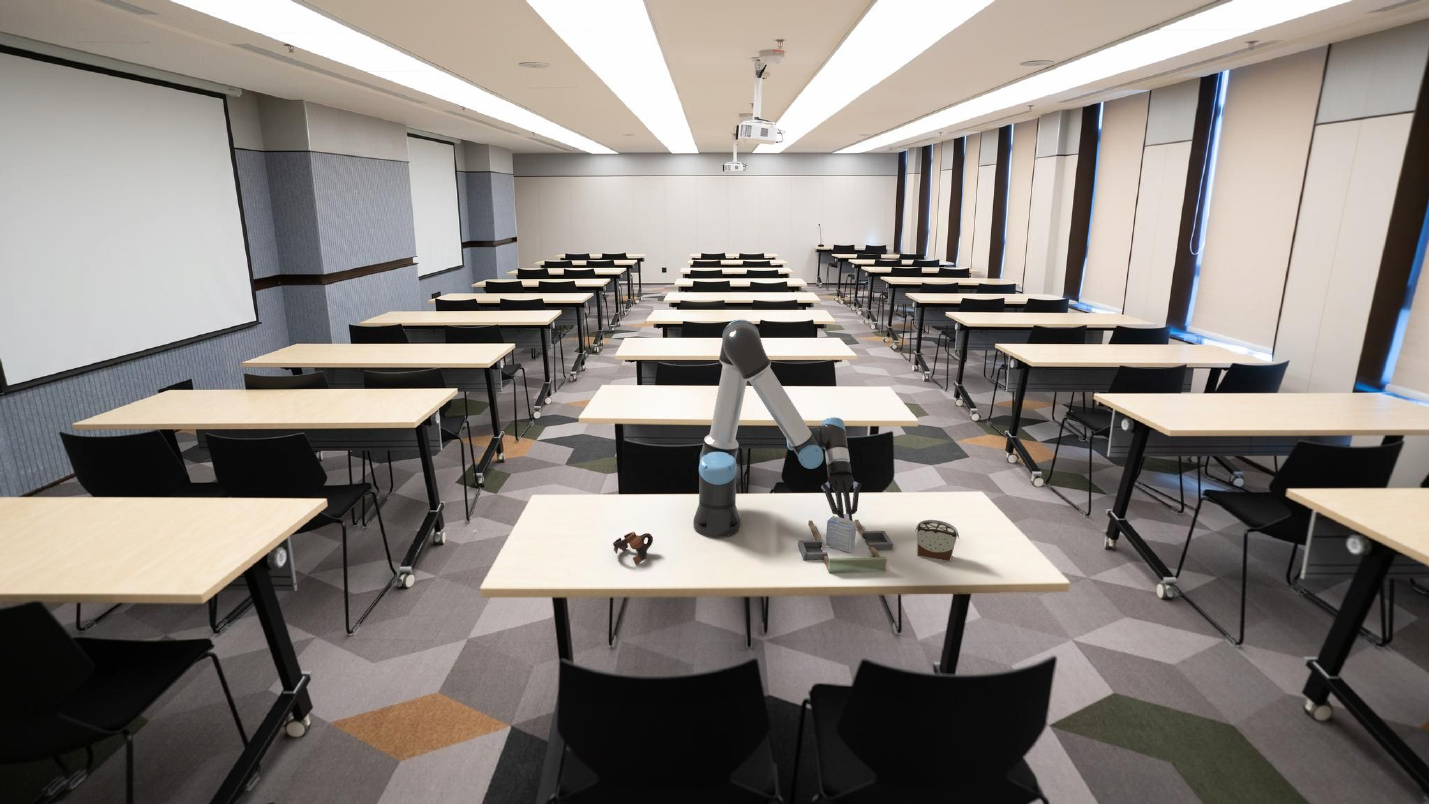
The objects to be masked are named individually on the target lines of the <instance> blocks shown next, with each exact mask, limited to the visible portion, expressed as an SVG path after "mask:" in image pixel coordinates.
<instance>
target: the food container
mask: <svg viewBox="0 0 1429 804" xmlns="http://www.w3.org/2000/svg"><path fill="white" fill-rule="evenodd" d="M914 532H916V539H917V540H916V541H917V542H916V549H917V551H916V554H917V557H920V558H926V559H931V560H938V561H944V562H949V563H950V562H951V559H952V557H953V552H954V549H955V546H956V541H957V539H960V536H959V531H958V528H956V526H955V525H952V524H951V523H949V522H946V521H943V520H936V519H927V520H922V521H919V522H918V524H917V525H916V526H915V531H914Z"/></svg>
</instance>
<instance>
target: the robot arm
mask: <svg viewBox="0 0 1429 804" xmlns="http://www.w3.org/2000/svg"><path fill="white" fill-rule="evenodd" d="M721 335H722V336H721V337H722V340H721V341H722V343H721V347H720V353H719V359H718V361H719V362H720V364H721V365H722V367H721V375H720V379H719V384H718V388H717V389H718V391H717V394H716V400H715V406H714V410H713V415H712V422H711V426H710V431H709V433H708V434H707V435H706V436H704V439H703V444H702V445H703V446H702V448H701V451H700V454H699V464H698V465H699V466H698V473H699V474H698V475H699V478H698V479H699V480H698V481H699V483H698V485H699V486H698V488H699V489H698V491H699V493H698V496H699V497H698V506H697V508H696V510H695V514H694V516H693V522H692V523H693V529H694V530H695V531H696V532H697V533H698V534H700V535H703V536H705V537H706V536H707V537H710V538H725V537H730V536H733V535H735V534H737V533H738V532H740V530H741V517H740V513H739V512H738V508H737V505H736V504H737V502H736V500H737V499H736V498H737V496H736V495H737V473H738V466H737V461H736V460H737V455H738V451H739V445H740V444H739V442H738V441H737V439H736V437H737V432H738V427H739V423H740V418H741V412H742V408H743V402H744V397H745V394H746V393H745V392H746V389H747V383H748V382H749V383H750V385H751V386H752V388H753V389H754V391H755V392H756V394H757V396H758V398H759V399H760V401H761V402H762V404H763V405H764V406H765V408H766V409H767V411H768V412H769V415H770V416H771V417H772V418H773V420H774V422H775V423H776V425H777V427H778V428H779V429H780V431H781V432H782V434H783V435H784V437H785V438H786V444H787V445H786V446H787V449H788V450H789V451H794V453H795V454H796V456H797V459H798V461H799V463H800V464H801V466H802V467H804V468H806V469H809V470H810V469H811V470H812V469H816V468H818V467H819V466H821V464H822V463H823V461H824V456H825V462H826V469H827V470H826V471H827V481H826V482H825V483H823V484H822V485H821V487H820V489H821V490H822V491H823V493H824V494H825V497H826V500H827V502H828V504H829V508H830V510H831V513H832V514H833V515H835V516H836V515H837V517H840V518H843V519H847V520H851V521H854V520H853V515H855V514H856V513H857V512H858V506H859V495H860V489H861V488H862V483H861V482H857V481H855V479H854V477H853V474H852V473H853V472H852V467H851V463H850V462H851V460H850V458H851V457H850V453H849V447H848V439H847V430H846V426H845V421H844V420H843V419H842V418H840V417H836V416H834V417H832V416H831V417H829V418H825V419H823V420H822V421H821V425H815V426H814V425H813V426H808V425H807V424H806V421H805V420H804V418H803V417H802V415H801V414H800V413H799V411H798V410H797V408H796V406H795V404H794V403H793V401H792V400H791V399H790V397H789V395H788V394H787V392H786V391H785V389H784V387H783V385H782V384H781V383H780V381H779V380H778V377H777V376H776V375H775V373H774V371H773V369H772V368H771V365H772V364H771V363H772V361H771V360H770V358H769V357H768V355H767V353H766V351H765V349H764V346H763V343H762V339H761V336H760V332H759V329H758V327H757V326H756V325H755V324H754V323H752V322H751V321H749V320H747V319H736V320H732V321H731V322H730V323H728V324H727V325H726V326H725V328H724V329H723V331H722V334H721ZM823 449H824V451H823ZM824 454H825V455H824ZM852 486H853V487H852ZM851 487H852V488H853V495H852V504H851V495H850V490H851ZM830 488H831V489H832V490H833V492H834V495H835V498H834V495H833V494H832V491H831V489H830ZM842 495H843V498H842ZM843 499H844V503H843ZM835 500H836V501H835ZM843 504H844V505H843ZM844 506H845V507H844ZM844 509H845V510H844Z"/></svg>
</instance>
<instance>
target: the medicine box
mask: <svg viewBox="0 0 1429 804" xmlns="http://www.w3.org/2000/svg"><path fill="white" fill-rule="evenodd" d="M854 521H855V520H853V521H851V520H847V519H843V518H840V517H838V516H836V515H832V516H831V517H830V518H829V519H828V520H827V521H826V535H825V536H826V537H825V547H830V548H832V549H836V550H838V551H839V550H840V551H843V552H846V553H851V552H852V551H853V549H854V548H855V546H856V535H857V534H856V533H857V528H856V522H854Z"/></svg>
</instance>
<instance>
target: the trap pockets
mask: <svg viewBox="0 0 1429 804" xmlns="http://www.w3.org/2000/svg"><path fill="white" fill-rule="evenodd" d="M862 533H863V536H862V537H861V538H862V539H863V540H864V542H865V543H866V544H867V547H868V546H874V548H875V549H876V551H893V550H894V549H893V548H894V543H893V541H892V540H891V539H890V537H889V536H888V534H887V532H886V531H885V530H865V531H862ZM865 535H866V536H865ZM863 537H864V538H863ZM821 543H822V544H821ZM818 545H819V547H818ZM797 548H798V551H799V552H800V555H801V559H802V561H824V556H828V557H829V553H828V551H823V540H822V539H821V540H815V539H809V540H808V539H807V540H806V539H804V540H803V539H802V540H801V539H799V540H798V543H797ZM868 548H869V547H868Z"/></svg>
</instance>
